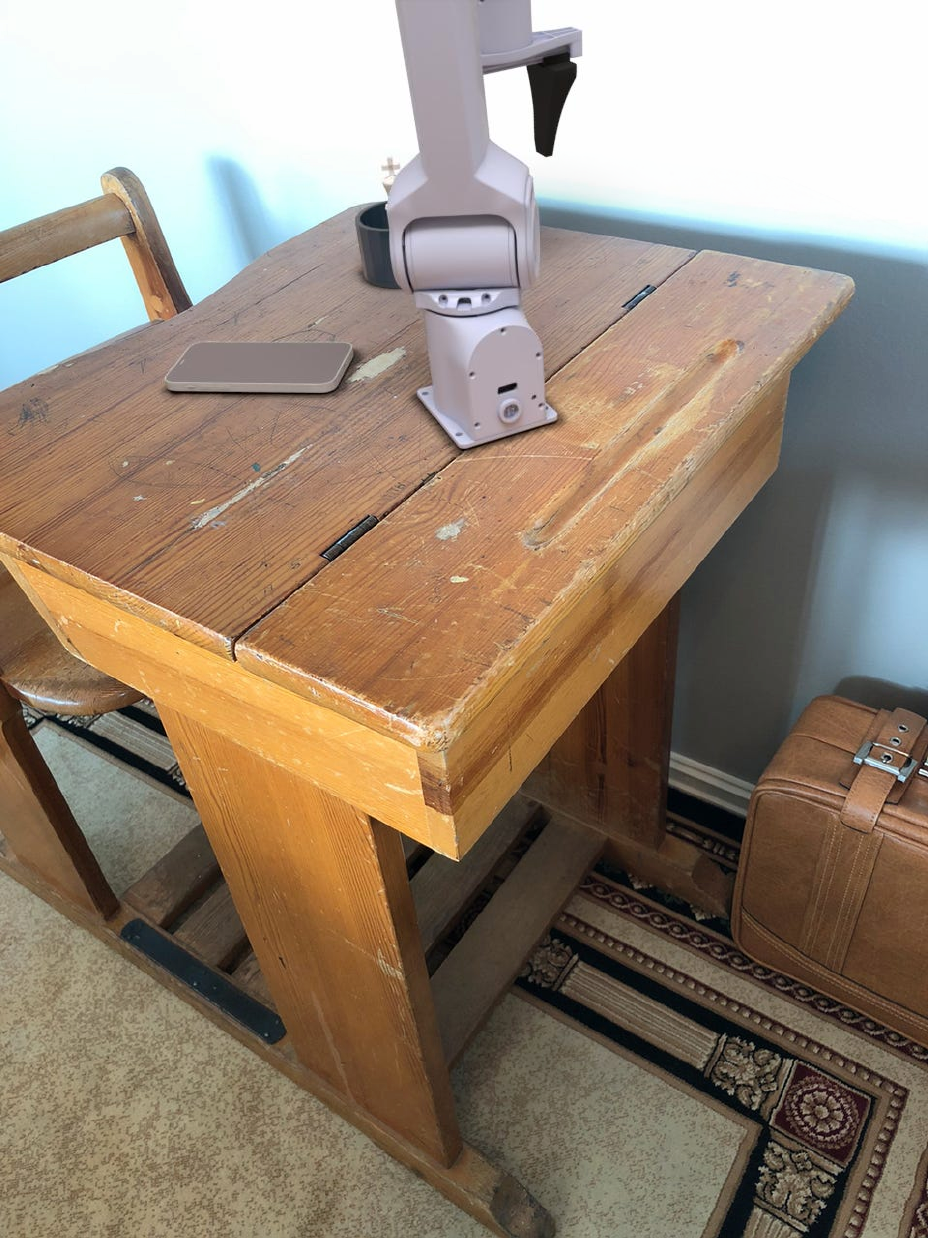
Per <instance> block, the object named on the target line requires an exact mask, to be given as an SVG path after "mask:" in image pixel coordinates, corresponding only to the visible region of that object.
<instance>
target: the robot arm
mask: <svg viewBox="0 0 928 1238" xmlns="http://www.w3.org/2000/svg"><path fill="white" fill-rule="evenodd" d="M394 4H395V10H396V16H397V22H398V23H397V24H398V28H399V35H400V43H401V47H402V54H403V60H404V66H405V73H406V78H407V84H408V85H407V86H408V90H409V97H410V102H411V109H412V114H413V115H412V116H413V120H414V121H413V122H414V127H415V133H416V140H417V145H418V151H419V152H418V153H416V155H415V156H414V157H413V158H412V159H411V160H409V162H407V164H406V165H405V166H403V167H402V168H401V169H400V170H399V172H397V174H395V175H396V177H395V179H394V181H393V184H392V187H391V190H390V193H389V197H388V196H387V201H388V203H387V217H388V223H389V230H390V232H389V241H390V256H391V264H392V269H393V273H394V277H395V280H396V282H397V284H398V285H399V286H400V287H401V288H400V289H401V290H402V291H403V293H404V294H406V295H413V297H414V304H415V309H422V314H423V322H424V330H425V338H426V346H427V354H428V360H429V361H428V363H429V369H430V374H431V376H430V377H431V383H432V384H431V385H427V386H425V387H422V388H419V389H418V390H416V396H417V397H418V399H419V400H420V401H421V402H422V404H423V405H424V406H425V408H426V409H427V410H428V412H430V413H431V414H432V416H433V417H434V419H435V420H436V421H437V422H438V424H439V425H440V426H441V427H442V429H443V430H444V431H445V432H446V433H447V435H448V436H449V438H451V440H452V441H453V442H454V443H455V444H456V446H457V447H458V448H459V449H465V450H466V449H469V448H472V447H476V446H479V445H483V444H485V443H489V442H492V441H495V440H498V439H502V438H505V437H507V436H512V435H515V434H518V433H521V432H524V431H527V430H530V429H534V428H537V427H541V426H543V425H548V424H550V423H554V422H556V421H557V420H558V412H556V411H555V409H553V407H551V406H550V405H549V404H548V403H547V402H546V383H545V382H546V381H545V380H546V379H545V360H544V359H545V358H544V348H543V345H542V341H541V340H540V337H539V336H538V333H536V332H535V330H534V329H533V328H532V326H530V324H529V322H528V320H527V318H526V315H525V311H524V306H523V291H531V290H532V288H533V286H535V284H536V283H537V282H538V280H539V276H540V265H541V225H540V210H539V205H538V201H537V200H536V194H535V185H534V177H533V176H532V175H531V174H530V167H529V166H528V165H527V164H525V163H524V162H523V161H522V160H520V159H519V158H517V157H516V156H515V155H513V154H511V153H510V152H508V151H507V150H505V149H504V148H502V147H501V146H499V145H498V144H497V143H495V142H494V141H493V140H492V139H491V137H490V136H491V135H490V127H489V119H488V117H489V116H488V108H487V98H486V87H485V78H484V76H486V75H490V74H495V73H500V72H504V71H510V70H513V69H517V68H522V67H525V68H526V72H527V77H528V81H529V88H530V94H531V95H530V96H531V102H532V114H533V115H532V116H533V140H534V141H533V142H534V147H535V152H536V153H537V154H539V155H541V156H543V157H544V158H549V157H552V156H553V154H554V149H555V143H556V139H557V138H556V137H557V133H558V127H559V125H560V120H561V116H562V112H563V109H564V107H565V104H566V101H567V99H568V96H569V94H570V91H571V90H572V87H573V85H574V83H575V82H576V80H577V78H578V77H577V76H578V64H577V63H576V62H574V61H573V60H572V61H571V59H575V58H580V57H582V56H583V30H582V29H580V28H576V27H574V26H567V27H561V28H560V27H559V28H553V29H547V30H538V31H533V23H532V21H533V20H532V18H533V17H532V0H394Z"/></svg>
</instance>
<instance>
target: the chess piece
mask: <svg viewBox="0 0 928 1238" xmlns="http://www.w3.org/2000/svg"><path fill="white" fill-rule="evenodd" d="M386 161H387V163H382V164H381V165H380V168H381V172H386V171H388V175H387V176H386V177H384V178H383V179H382V180H381V184H382V186H383V189H384V190H385V192H386V194H387V195H386V196H387V198H388V197H389V193H390V190H391V187H392V184H393V181H394V179H395V177H396V175H397V174H395V171H396V170H398V171H399V170H401V163H400V162H394V161H393V156H392V155H391V156H387V157H386ZM385 206H386V207H385V209H386V210H387V204H386V205H385Z"/></svg>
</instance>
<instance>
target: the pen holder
mask: <svg viewBox="0 0 928 1238" xmlns="http://www.w3.org/2000/svg"><path fill="white" fill-rule="evenodd" d="M387 203H388V200H384V201H379V202H377V203H374V204H371V205H369V206H366V207H365V208H363V209H362V210H360V211H358V213H357V214H356V215H355V216H354V223H355V224H354V225H355V231H356V236H357V243H358V248H359V253H360V261H361V266H362V272H363V276H364V279H365V280H366V281H367V282H368V283H369V284H371V285H373V286H376V287H379V288H386V289H402V288H401V287H400V286H399V285H398V284H397V282H396V280H395V277H394V273H393V269H392V264H391V256H390V241H389V232H390V230H389V223H388V217H387V210H386V209H385V207H386V206H385V205H386V204H387Z"/></svg>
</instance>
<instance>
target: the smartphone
mask: <svg viewBox="0 0 928 1238" xmlns="http://www.w3.org/2000/svg"><path fill="white" fill-rule="evenodd" d="M354 355H355V353H354V349H353V345H352V344H351V343H350V342H347V341H198V342H194V343H192V344H190V345H188V347H187V348H186V349H185V350H184V352H183V353H182V355H181V356H180V357H179V358H178V359H177V361H176V362H175V363H174V364H173V366H172V367H171V368H170V370H169V371H168V373H166V375H165V377H164V381H165V385H166V388H167V389H168V390H169V391H173V392H228V393H229V392H231V393H233V392H234V393H235V392H239V393H240V392H241V393H306V394H307V393H311V394H312V393H313V394H314V393H315V394H316V393H317V394H318V393H319V394H320V393H321V394H322V393H329V392H331V391H334V390H335V389H337V387H339V384H340V382H341V380H342V379H343V377H344V375H345V373H346V372H347V369H348V367H349V365H350V364H351V361H352V360H353V357H354Z"/></svg>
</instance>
